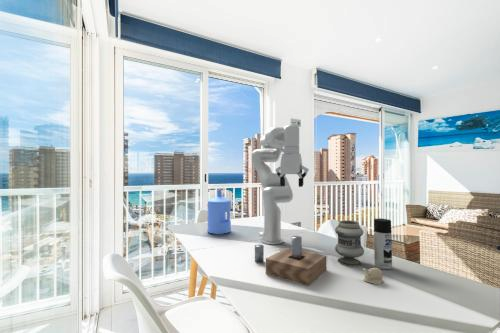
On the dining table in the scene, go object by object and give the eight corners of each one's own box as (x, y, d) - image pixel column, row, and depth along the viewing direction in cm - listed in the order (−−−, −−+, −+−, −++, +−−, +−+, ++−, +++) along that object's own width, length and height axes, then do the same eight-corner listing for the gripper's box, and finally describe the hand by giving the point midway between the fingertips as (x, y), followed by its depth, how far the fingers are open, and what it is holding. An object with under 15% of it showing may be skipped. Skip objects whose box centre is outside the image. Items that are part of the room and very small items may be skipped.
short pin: (253, 261, 115) (253, 246, 115) (258, 259, 118) (258, 243, 118) (260, 263, 112) (260, 247, 113) (265, 261, 116) (265, 245, 116)
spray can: (385, 271, 104) (385, 221, 105) (370, 265, 110) (370, 219, 111) (395, 268, 107) (395, 220, 108) (380, 262, 113) (380, 217, 114)
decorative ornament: (386, 283, 93) (386, 268, 93) (365, 285, 91) (365, 270, 91) (379, 279, 97) (379, 264, 97) (359, 280, 95) (359, 266, 95)
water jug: (204, 234, 164) (204, 190, 165) (211, 228, 180) (211, 188, 180) (227, 235, 162) (227, 191, 162) (233, 229, 177) (233, 189, 178)
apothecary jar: (330, 262, 114) (330, 221, 114) (341, 256, 123) (341, 218, 123) (358, 269, 106) (357, 225, 106) (368, 262, 114) (367, 221, 115)
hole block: (265, 273, 101) (265, 258, 101) (287, 260, 116) (287, 247, 116) (308, 286, 90) (308, 268, 91) (326, 270, 105) (326, 255, 105)
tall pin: (289, 272, 103) (289, 237, 103) (294, 269, 106) (294, 235, 106) (298, 274, 100) (298, 238, 101) (303, 271, 104) (303, 236, 104)
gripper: (272, 151, 126) (272, 186, 126) (304, 149, 116) (304, 187, 116) (279, 152, 132) (279, 185, 132) (311, 150, 122) (311, 186, 122)
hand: (291, 186), depth 124 cm, fingers open, 9 cm apart
